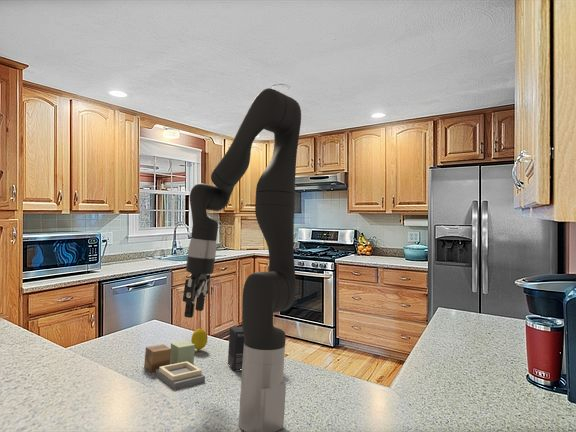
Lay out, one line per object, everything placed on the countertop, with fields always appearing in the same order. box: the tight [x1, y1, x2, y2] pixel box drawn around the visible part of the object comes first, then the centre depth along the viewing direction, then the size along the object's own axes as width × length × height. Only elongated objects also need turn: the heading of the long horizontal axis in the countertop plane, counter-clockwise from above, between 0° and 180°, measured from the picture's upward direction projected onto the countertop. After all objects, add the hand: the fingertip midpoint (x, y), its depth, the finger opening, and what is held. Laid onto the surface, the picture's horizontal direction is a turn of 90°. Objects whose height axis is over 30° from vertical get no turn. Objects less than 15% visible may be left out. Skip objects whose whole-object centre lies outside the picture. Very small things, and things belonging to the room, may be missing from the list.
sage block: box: [170, 340, 196, 365], centre depth 112 cm, size 6×6×6 cm
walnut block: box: [143, 344, 171, 374], centre depth 107 cm, size 6×6×6 cm
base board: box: [155, 361, 206, 390], centre depth 100 cm, size 12×9×3 cm
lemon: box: [190, 327, 208, 351], centre depth 125 cm, size 6×6×8 cm
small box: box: [227, 326, 244, 372], centre depth 113 cm, size 13×7×12 cm, turn 115°
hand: (194, 313), depth 98 cm, fingers open, 8 cm apart
